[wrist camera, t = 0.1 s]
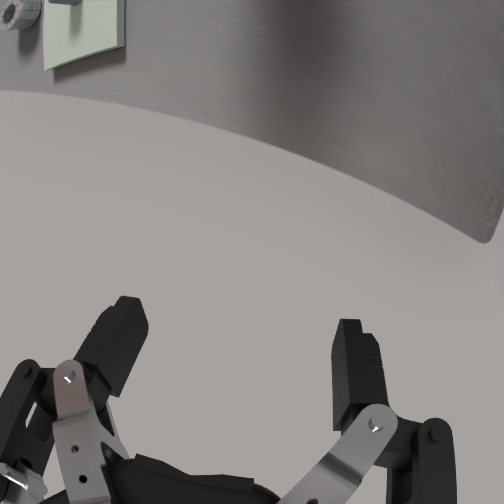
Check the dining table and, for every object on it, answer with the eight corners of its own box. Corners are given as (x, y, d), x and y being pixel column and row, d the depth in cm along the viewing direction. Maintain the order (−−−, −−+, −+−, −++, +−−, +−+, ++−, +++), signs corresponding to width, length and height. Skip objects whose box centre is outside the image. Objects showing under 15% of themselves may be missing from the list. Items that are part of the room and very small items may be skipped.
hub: (20, 6, 23) (0, 6, 19) (41, -8, 22) (21, -9, 18) (18, 33, 26) (-2, 36, 22) (40, 21, 26) (18, 22, 21)
